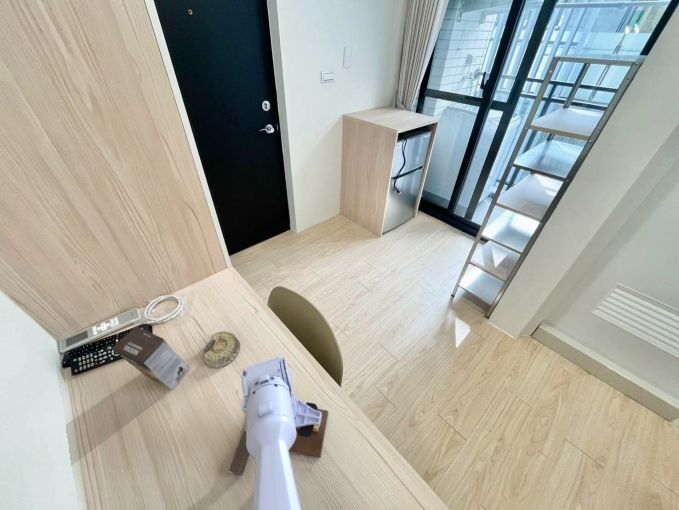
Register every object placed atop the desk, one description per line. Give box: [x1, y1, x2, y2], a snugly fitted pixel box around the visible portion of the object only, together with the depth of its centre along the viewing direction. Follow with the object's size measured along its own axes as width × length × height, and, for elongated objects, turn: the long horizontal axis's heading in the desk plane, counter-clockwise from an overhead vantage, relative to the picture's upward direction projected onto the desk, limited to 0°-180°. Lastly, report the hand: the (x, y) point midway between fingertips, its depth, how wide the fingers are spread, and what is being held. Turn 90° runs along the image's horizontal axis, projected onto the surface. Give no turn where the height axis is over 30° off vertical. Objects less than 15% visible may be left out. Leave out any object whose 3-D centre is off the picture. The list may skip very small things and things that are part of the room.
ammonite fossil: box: [202, 330, 241, 369], centre depth 74 cm, size 10×10×5 cm
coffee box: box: [111, 326, 191, 391], centre depth 66 cm, size 9×6×16 cm
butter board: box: [289, 408, 329, 458], centre depth 62 cm, size 9×13×1 cm
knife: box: [228, 430, 250, 476], centre depth 60 cm, size 15×2×3 cm, turn 171°
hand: (288, 424), depth 55 cm, fingers open, 7 cm apart
